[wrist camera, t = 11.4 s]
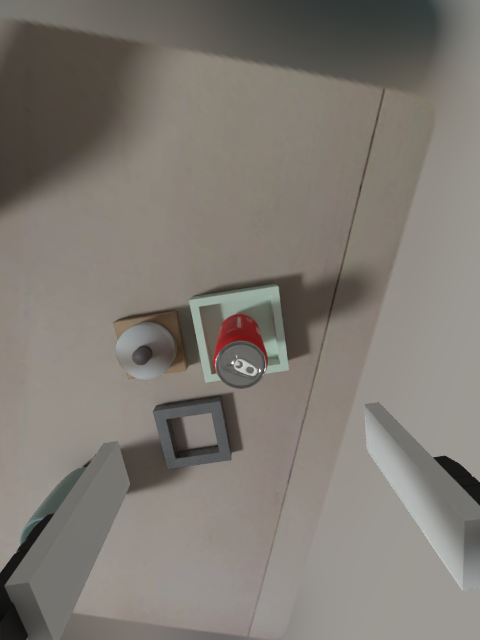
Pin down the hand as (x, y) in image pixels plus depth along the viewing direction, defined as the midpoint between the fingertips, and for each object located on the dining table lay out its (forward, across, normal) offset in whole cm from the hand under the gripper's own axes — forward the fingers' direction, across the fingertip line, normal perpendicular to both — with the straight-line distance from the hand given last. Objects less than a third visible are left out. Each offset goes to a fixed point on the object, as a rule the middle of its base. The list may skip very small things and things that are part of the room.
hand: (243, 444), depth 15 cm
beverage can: (+24, 0, 0) cm, 24 cm away
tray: (+24, 0, 0) cm, 24 cm away
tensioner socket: (+24, -9, -14) cm, 29 cm away
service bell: (+24, -12, 0) cm, 27 cm away
